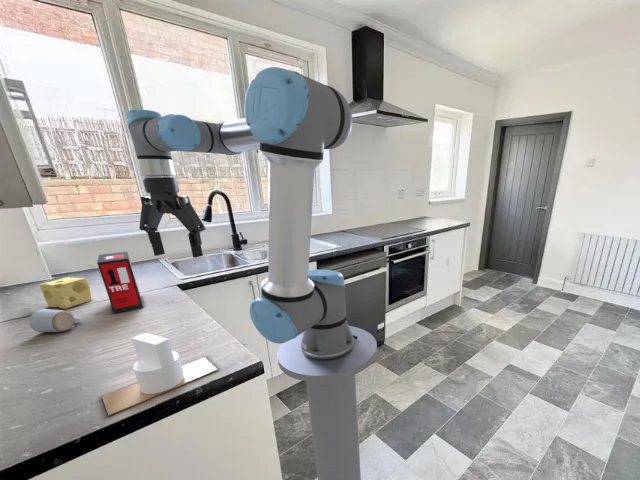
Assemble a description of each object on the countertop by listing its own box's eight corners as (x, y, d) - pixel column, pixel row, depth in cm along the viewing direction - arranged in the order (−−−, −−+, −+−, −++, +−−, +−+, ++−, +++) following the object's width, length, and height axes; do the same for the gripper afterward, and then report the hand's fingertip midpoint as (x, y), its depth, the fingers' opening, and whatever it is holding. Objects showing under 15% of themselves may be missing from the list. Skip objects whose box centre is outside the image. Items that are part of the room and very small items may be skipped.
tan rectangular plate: (204, 358, 86) (204, 357, 86) (217, 370, 80) (217, 369, 80) (102, 397, 71) (101, 396, 71) (108, 416, 65) (108, 415, 65)
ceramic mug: (58, 335, 100) (49, 314, 98) (33, 336, 100) (24, 314, 98) (88, 322, 110) (81, 302, 108) (65, 322, 110) (58, 302, 108)
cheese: (65, 309, 122) (55, 285, 118) (46, 307, 124) (36, 283, 121) (94, 300, 131) (86, 277, 128) (76, 298, 134) (68, 276, 130)
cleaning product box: (114, 301, 129) (98, 254, 122) (140, 296, 134) (127, 251, 128) (114, 313, 117) (97, 262, 110) (143, 307, 122) (128, 258, 116)
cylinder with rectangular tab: (192, 375, 78) (181, 333, 74) (156, 397, 70) (141, 351, 66) (168, 368, 81) (156, 327, 77) (131, 388, 73) (116, 344, 69)
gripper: (209, 176, 82) (224, 254, 89) (136, 178, 88) (156, 251, 95) (186, 176, 75) (204, 260, 82) (109, 178, 81) (132, 256, 88)
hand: (178, 255), depth 89 cm, fingers open, 13 cm apart
